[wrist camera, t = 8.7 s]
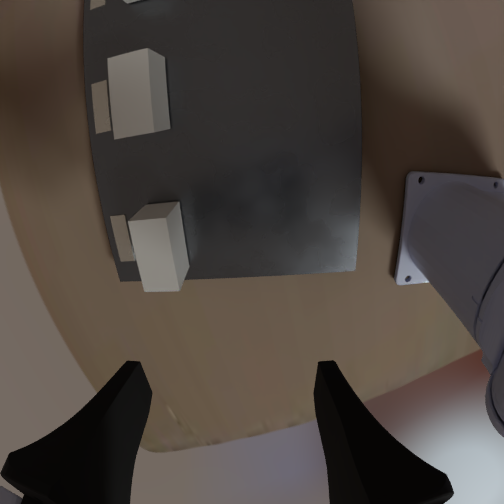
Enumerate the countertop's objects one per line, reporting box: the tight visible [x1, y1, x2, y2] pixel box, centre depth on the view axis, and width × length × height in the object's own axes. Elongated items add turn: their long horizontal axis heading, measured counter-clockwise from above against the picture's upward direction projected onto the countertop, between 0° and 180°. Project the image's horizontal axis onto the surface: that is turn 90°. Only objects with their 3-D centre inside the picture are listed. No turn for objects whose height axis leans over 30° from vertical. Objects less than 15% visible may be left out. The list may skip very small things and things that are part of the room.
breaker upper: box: [128, 202, 189, 292], centre depth 16 cm, size 2×4×3 cm, turn 3°
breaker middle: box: [107, 48, 170, 140], centre depth 13 cm, size 2×4×3 cm, turn 4°
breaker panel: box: [83, 0, 362, 282], centre depth 14 cm, size 15×22×2 cm
